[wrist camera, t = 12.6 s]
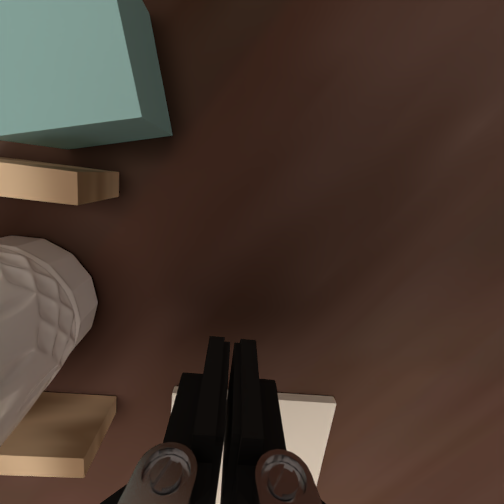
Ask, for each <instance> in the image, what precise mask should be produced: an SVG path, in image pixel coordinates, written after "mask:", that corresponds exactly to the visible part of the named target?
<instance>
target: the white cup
mask: <svg viewBox="0 0 504 504" xmlns="http://www.w3.org/2000/svg"><path fill="white" fill-rule="evenodd" d="M97 305H98V300H97V297H96V293H95V289H94V285H93V281H92V277H91V276H90V275H89V273H88V272H87V271H86V270H85V268H84V267H83V266H82V265H81V264H80V262H79V261H78V260H77V259H76V257H75V256H74V255H73V254H72V253H70V252H68V251H66V250H64V249H62V248H61V247H59V246H57V245H55V244H53V243H51V242H49V241H48V240H46V239H42V238H33V237H23V236H14V235H11V236H6V237H2V238H0V447H1V446H2V444H3V443H4V442H5V441H6V439H7V438H8V437H9V436H10V434H11V433H12V432H13V431H14V429H15V428H16V427H17V426H18V424H19V423H20V422H21V421H22V419H23V418H24V417H25V416H26V414H27V413H28V412H29V410H30V409H31V408H32V406H33V405H34V404H35V402H36V401H37V399H38V398H39V397H40V395H41V394H42V393H43V391H44V390H45V389H46V388H47V386H48V385H49V384H50V383H51V381H52V380H53V379H54V377H55V376H56V375H57V373H58V372H59V370H60V369H61V368H62V366H63V364H64V363H65V361H66V359H67V357H68V356H69V354H70V353H71V352H72V351H73V349H74V348H75V347H76V346H77V344H78V343H79V342H80V341H81V340H82V338H83V337H84V336H85V335H86V334H87V332H88V331H89V330H90V329H91V327H92V324H93V321H94V317H95V313H96V309H97Z"/></svg>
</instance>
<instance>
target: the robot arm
mask: <svg viewBox="0 0 504 504" xmlns="http://www.w3.org/2000/svg"><path fill="white" fill-rule="evenodd" d="M224 339H225V337H214V336H210V338H209V344H208V350H207V355H206V361H205V367H204V373H203V374H195V373H182V376H181V379H180V383H179V387H178V390H177V394H176V398H175V401H174V405H173V408H172V412H171V416H170V419H169V423H168V427H167V430H166V434H165V438H164V441H163V443H162V444H159V445H157V446H155V447H153V448H151V449H150V450H149V451H147V452H146V453H145V454H144V455H143V456H142V458H141V459H140V461H139V462H138V464H137V466H136V468H135V470H134V472H133V474H132V476H131V478H130V480H129V482H128V484H127V485H125V486H124V487H122V488H121V489H120V490H118V491H117V492H115V493H114V494H113V495H111V496H110V497H108V498H107V499H106V500H104V501H103V502H101V503H100V504H215V503H216V496H217V488H218V481H219V474H220V467H221V459H222V452H223V465H222V482H221V499H220V504H325V503H324V502H323V501H322V500H321V498H320V496H319V493H318V490H317V488H316V485H315V482H314V479H313V477H312V474H311V472H310V470H309V468H308V466H307V465H306V464H305V462H304V461H303V460H302V459H301V458H300V457H298V456H297V455H296V454H294V453H293V452H290V451H287V450H286V444H285V438H284V432H283V425H282V419H281V413H280V407H279V400H278V394H277V388H276V383H275V380H267V379H259V373H258V361H257V349H256V341H255V340H246V339H241V340H240V343H234V350H233V358H232V365H231V373H230V380H229V388H228V395H227V387H228V370H229V352H230V342H224ZM223 445H224V448H223Z"/></svg>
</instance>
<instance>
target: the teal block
mask: <svg viewBox="0 0 504 504" xmlns="http://www.w3.org/2000/svg"><path fill="white" fill-rule="evenodd" d="M166 136H173V134H172V129H171V124H170V119H169V113H168V108H167V103H166V98H165V93H164V87H163V82H162V77H161V72H160V67H159V61H158V56H157V51H156V46H155V41H154V35H153V30H152V25H151V20H150V15H149V12H148V10H147V9H146V7H145V5H144V3H143V1H142V0H0V140H3V141H10V142H18V143H25V144H32V145H39V146H47V147H54V148H61V149H76V148H84V147H91V146H99V145H106V144H114V143H121V142H129V141H136V140H144V139H151V138H159V137H166Z"/></svg>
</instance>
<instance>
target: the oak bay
mask: <svg viewBox="0 0 504 504" xmlns="http://www.w3.org/2000/svg"><path fill="white" fill-rule="evenodd" d="M0 196H2V197H10V198H19V199H27V200H36V201H44V202H53V203H61V204H70V205H82V204H87V203H92V202H96V201H101V200H106V199H110V198H115V197H119V172H115V171H107V170H100V169H92V168H84V167H76V166H69V165H61V164H53V163H45V162H38V161H30V160H22V159H14V158H6V157H0ZM115 414H116V396H104V395H88V394H71V393H55V392H43V393H42V394H41V395H40V397H39V398H38V399H37V401H36V402H35V404H34V405H33V406H32V408H31V409H30V410H29V412H28V413H27V414H26V416H25V417H24V418H23V419H22V421H21V422H20V423H19V424H18V426H17V427H16V428H15V429H14V431H13V432H12V433H11V434H10V436H9V437H8V438H7V439H6V441H5V442H4V443H3V444H2V446H1V447H0V475H16V476H44V477H72V478H85V475H86V473H87V471H88V469H89V467H90V465H91V463H92V461H93V459H94V457H95V455H96V453H97V451H98V449H99V447H100V445H101V443H102V441H103V439H104V437H105V435H106V433H107V430H108V428H109V426H110V424H111V422H112V420H113V418H114V416H115Z"/></svg>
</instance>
